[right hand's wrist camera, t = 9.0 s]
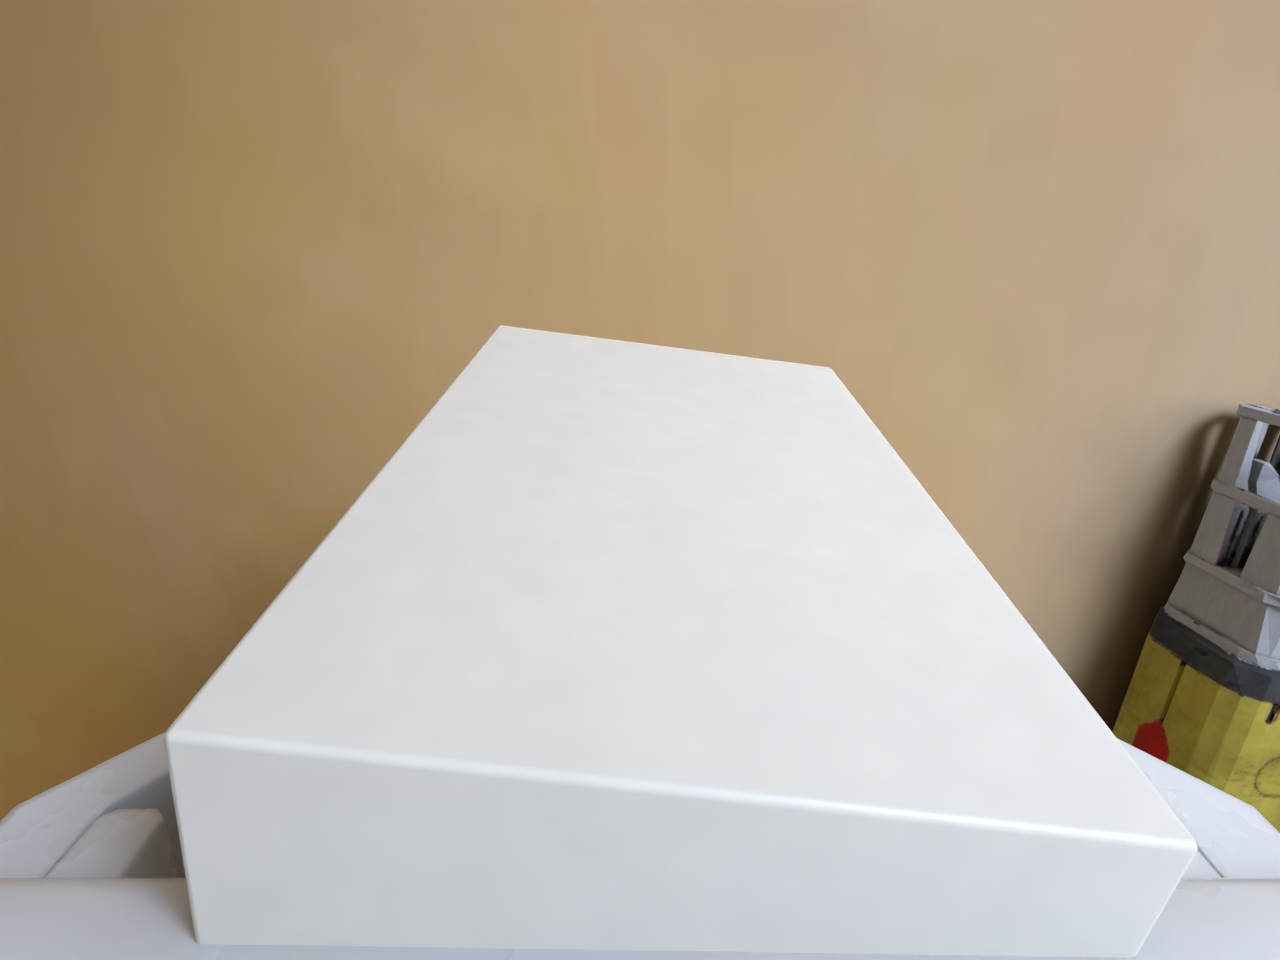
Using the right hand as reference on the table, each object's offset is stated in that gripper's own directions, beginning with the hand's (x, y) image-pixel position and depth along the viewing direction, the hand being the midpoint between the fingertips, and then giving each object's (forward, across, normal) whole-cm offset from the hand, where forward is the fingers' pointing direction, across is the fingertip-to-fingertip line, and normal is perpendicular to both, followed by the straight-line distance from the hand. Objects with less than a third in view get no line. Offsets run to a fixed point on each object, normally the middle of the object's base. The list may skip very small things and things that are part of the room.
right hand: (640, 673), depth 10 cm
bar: (+5, -1, -9) cm, 10 cm away
